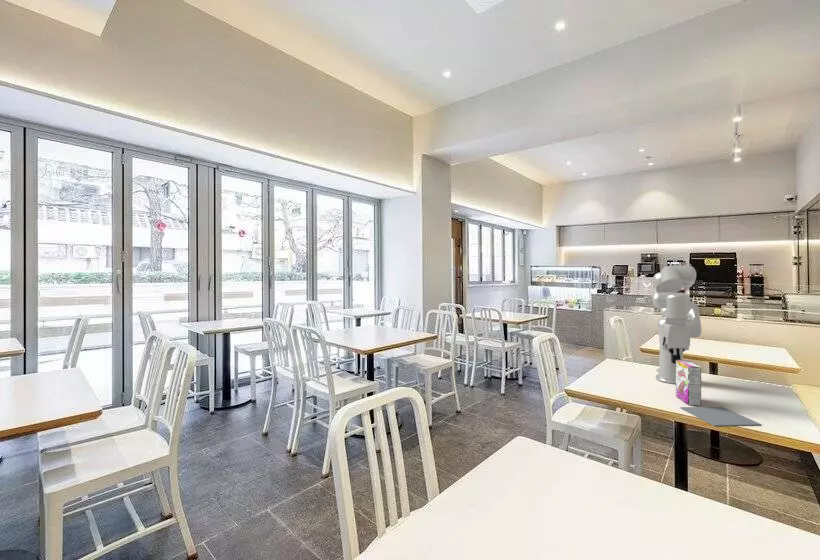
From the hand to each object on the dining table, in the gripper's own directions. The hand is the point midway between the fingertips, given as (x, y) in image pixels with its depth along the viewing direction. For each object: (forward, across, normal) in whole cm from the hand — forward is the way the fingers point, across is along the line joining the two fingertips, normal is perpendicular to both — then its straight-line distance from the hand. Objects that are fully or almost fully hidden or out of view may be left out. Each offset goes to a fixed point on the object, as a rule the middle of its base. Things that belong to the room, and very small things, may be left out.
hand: (675, 363), depth 167 cm
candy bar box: (+15, 0, +7) cm, 16 cm away
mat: (+14, 0, +23) cm, 27 cm away
